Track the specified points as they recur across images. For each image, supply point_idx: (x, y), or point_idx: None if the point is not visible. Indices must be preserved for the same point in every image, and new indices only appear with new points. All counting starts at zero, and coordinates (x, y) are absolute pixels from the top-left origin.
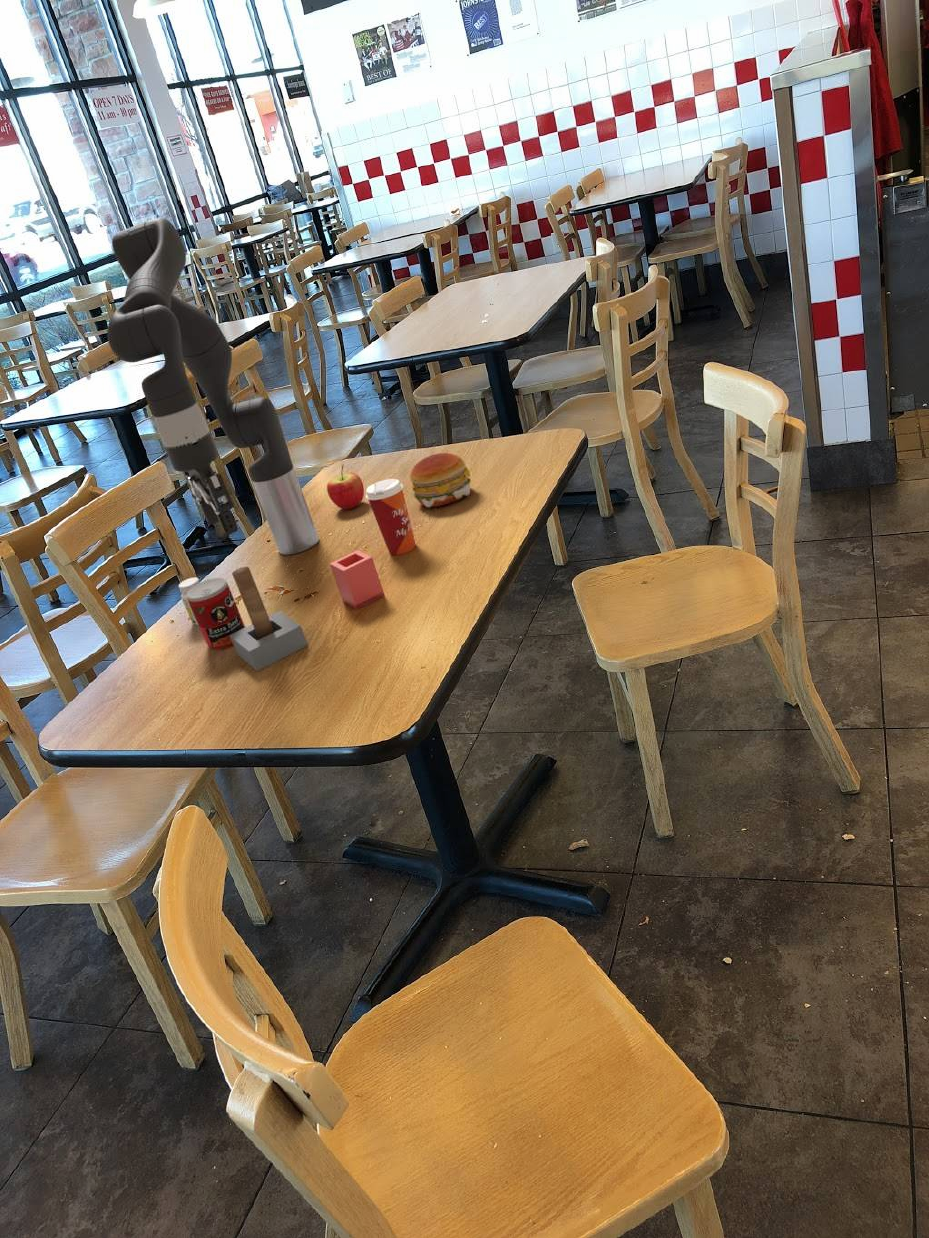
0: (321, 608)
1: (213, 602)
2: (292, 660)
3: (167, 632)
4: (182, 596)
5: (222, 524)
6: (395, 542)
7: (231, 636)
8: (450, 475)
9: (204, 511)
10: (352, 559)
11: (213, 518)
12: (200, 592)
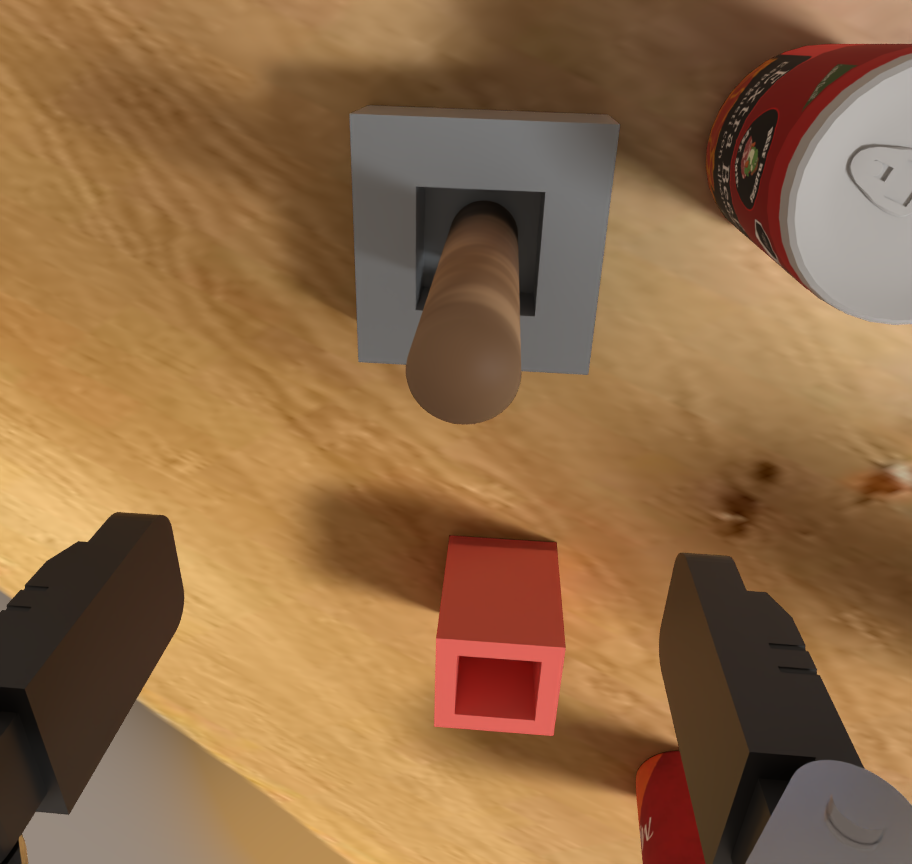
0: (593, 484)
1: (775, 163)
2: (319, 240)
3: None
4: None
5: (52, 591)
6: (656, 795)
7: (594, 125)
8: None
9: (719, 678)
10: (536, 694)
11: (680, 634)
12: None
